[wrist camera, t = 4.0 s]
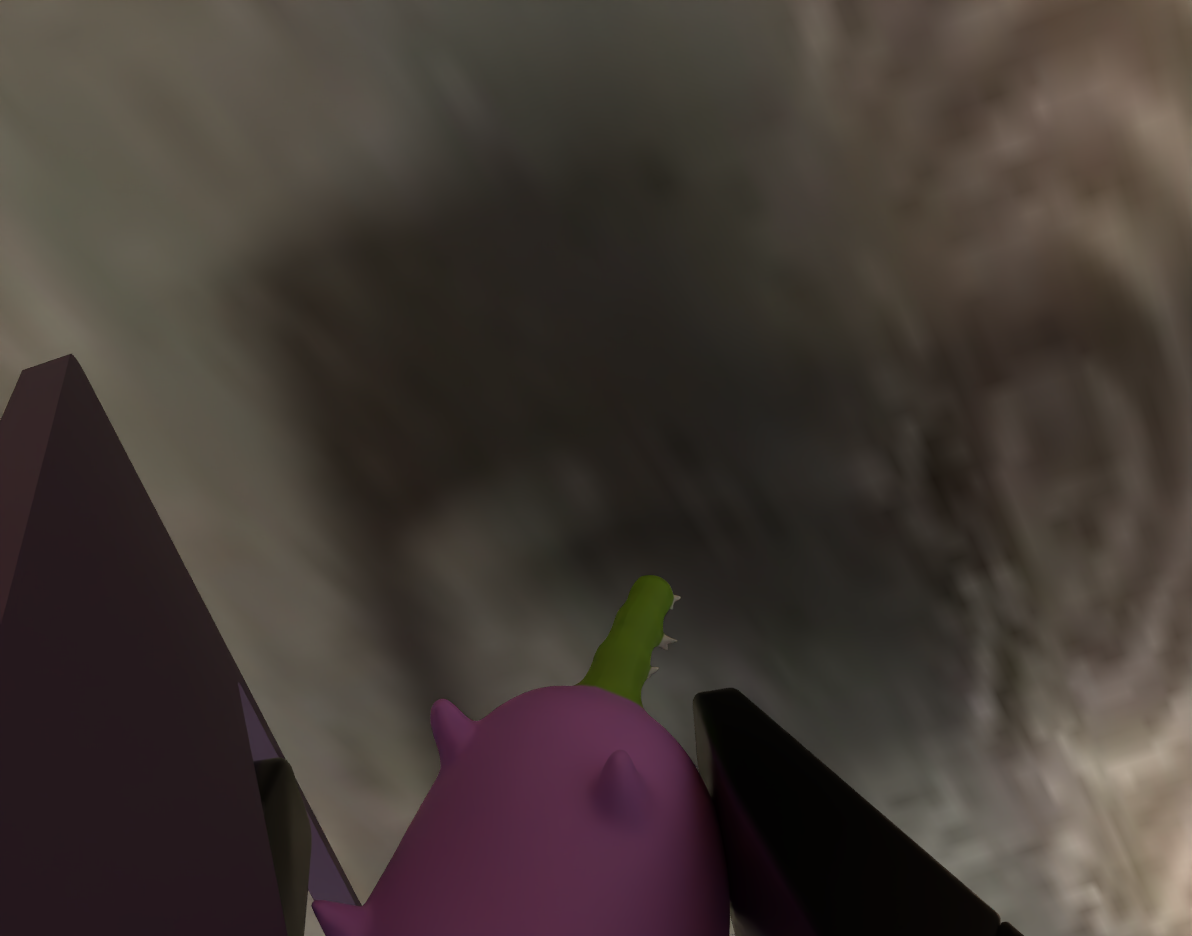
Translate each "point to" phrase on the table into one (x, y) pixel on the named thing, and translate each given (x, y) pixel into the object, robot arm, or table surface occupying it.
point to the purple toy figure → (241, 735)
